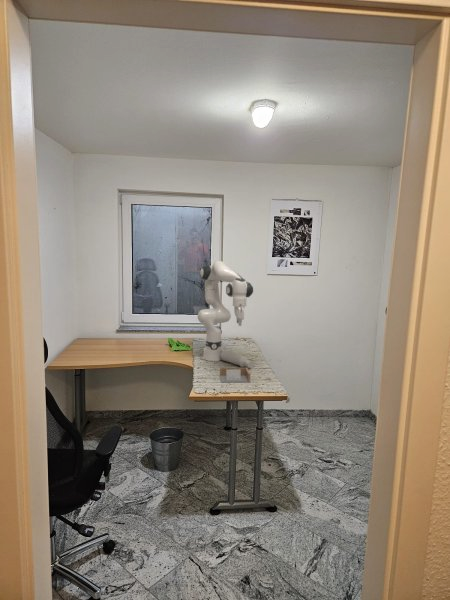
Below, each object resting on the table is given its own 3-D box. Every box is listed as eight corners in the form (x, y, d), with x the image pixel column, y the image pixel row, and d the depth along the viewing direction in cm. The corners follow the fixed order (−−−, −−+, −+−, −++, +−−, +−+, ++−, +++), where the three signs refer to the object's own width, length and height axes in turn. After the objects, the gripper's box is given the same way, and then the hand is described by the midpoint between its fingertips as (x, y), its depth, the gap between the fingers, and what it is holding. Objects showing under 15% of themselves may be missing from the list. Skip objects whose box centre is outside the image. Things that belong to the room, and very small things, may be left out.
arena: (219, 376, 237) (220, 367, 236) (247, 375, 238) (247, 367, 238) (221, 382, 224) (221, 373, 223) (250, 382, 226) (250, 373, 225)
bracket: (240, 378, 231) (240, 369, 230) (240, 380, 227) (241, 371, 226) (226, 378, 230) (226, 369, 229) (226, 380, 226) (226, 371, 226)
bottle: (216, 356, 272) (243, 367, 249) (222, 345, 274) (249, 355, 251) (224, 361, 277) (251, 372, 254) (229, 351, 279) (256, 361, 256)
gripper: (246, 305, 225) (246, 327, 226) (242, 301, 245) (241, 321, 247) (236, 305, 224) (236, 327, 226) (233, 301, 245) (232, 321, 246)
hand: (238, 324), depth 236 cm, fingers open, 8 cm apart
